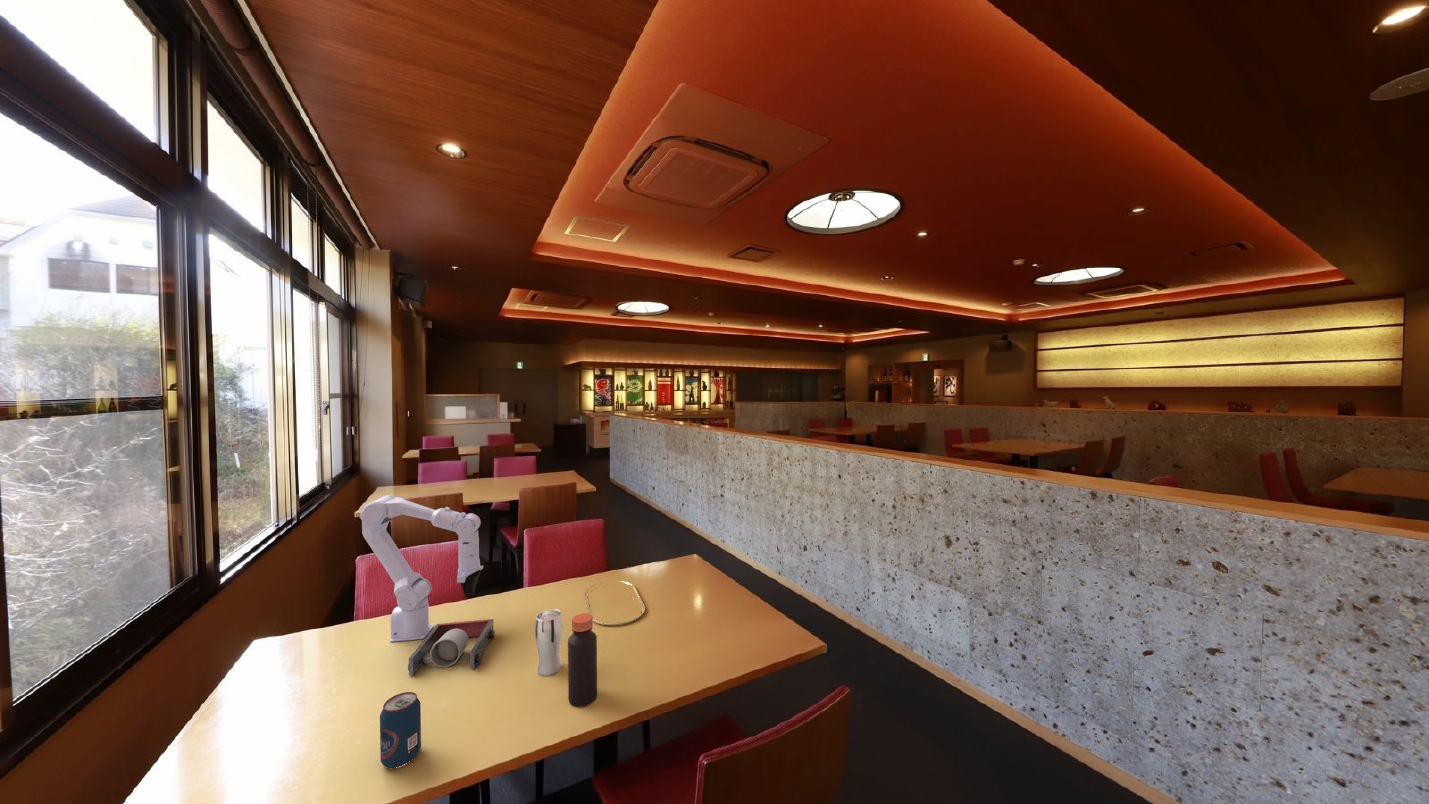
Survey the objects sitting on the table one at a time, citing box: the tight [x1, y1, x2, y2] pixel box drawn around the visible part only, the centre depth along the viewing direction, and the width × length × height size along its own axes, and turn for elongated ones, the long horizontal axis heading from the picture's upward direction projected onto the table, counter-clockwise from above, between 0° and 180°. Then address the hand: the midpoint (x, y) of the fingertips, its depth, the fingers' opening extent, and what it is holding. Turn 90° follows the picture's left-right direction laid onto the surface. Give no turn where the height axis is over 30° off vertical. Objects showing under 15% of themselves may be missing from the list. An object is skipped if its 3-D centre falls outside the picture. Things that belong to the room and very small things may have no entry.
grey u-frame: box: [407, 618, 496, 676], centre depth 133 cm, size 18×18×4 cm
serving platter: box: [583, 579, 646, 627], centre depth 164 cm, size 19×35×2 cm, turn 21°
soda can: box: [379, 691, 422, 769], centre depth 95 cm, size 7×7×12 cm
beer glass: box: [534, 608, 564, 677], centre depth 125 cm, size 7×7×15 cm
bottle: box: [567, 612, 598, 708], centre depth 113 cm, size 7×7×20 cm
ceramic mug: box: [423, 628, 469, 668], centre depth 130 cm, size 11×8×8 cm
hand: (469, 596), depth 146 cm, fingers closed
